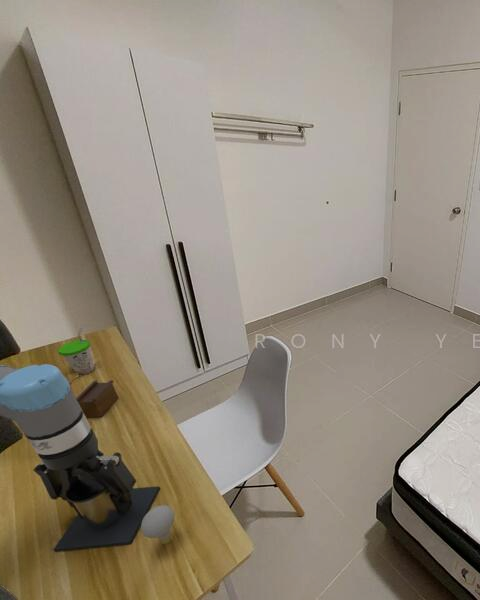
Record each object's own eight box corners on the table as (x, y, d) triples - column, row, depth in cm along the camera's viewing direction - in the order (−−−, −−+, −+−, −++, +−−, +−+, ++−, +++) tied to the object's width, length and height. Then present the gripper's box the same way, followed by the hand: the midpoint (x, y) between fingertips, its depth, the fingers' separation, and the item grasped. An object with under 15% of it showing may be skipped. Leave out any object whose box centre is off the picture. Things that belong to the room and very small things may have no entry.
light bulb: (158, 561, 66) (143, 534, 61) (147, 542, 69) (132, 515, 64) (187, 538, 70) (175, 511, 65) (176, 521, 73) (163, 494, 68)
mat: (55, 552, 66) (52, 549, 66) (95, 493, 77) (93, 491, 76) (131, 544, 68) (129, 541, 68) (160, 488, 79) (159, 486, 78)
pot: (116, 527, 69) (137, 492, 75) (99, 499, 64) (123, 464, 71) (75, 531, 68) (100, 495, 74) (55, 503, 63) (83, 467, 70)
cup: (74, 381, 108) (54, 344, 101) (67, 371, 112) (48, 334, 105) (103, 370, 113) (87, 334, 106) (96, 360, 117) (80, 325, 110)
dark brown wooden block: (84, 418, 95) (74, 399, 92) (102, 398, 102) (93, 380, 99) (104, 417, 96) (94, 399, 93) (120, 397, 103) (112, 379, 100)
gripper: (-18, 461, 56) (41, 534, 67) (112, 453, 59) (148, 524, 70) (21, 426, 63) (69, 497, 73) (135, 420, 65) (166, 490, 76)
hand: (107, 510), depth 71 cm, fingers closed on pot, 7 cm apart
